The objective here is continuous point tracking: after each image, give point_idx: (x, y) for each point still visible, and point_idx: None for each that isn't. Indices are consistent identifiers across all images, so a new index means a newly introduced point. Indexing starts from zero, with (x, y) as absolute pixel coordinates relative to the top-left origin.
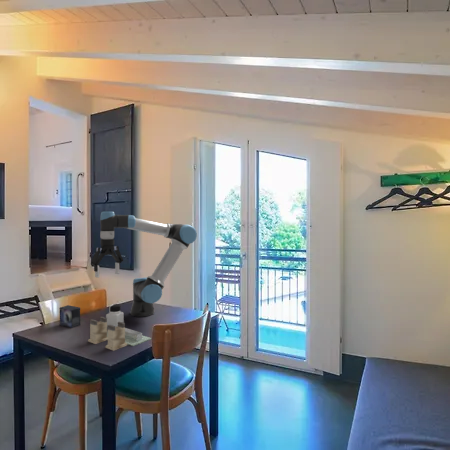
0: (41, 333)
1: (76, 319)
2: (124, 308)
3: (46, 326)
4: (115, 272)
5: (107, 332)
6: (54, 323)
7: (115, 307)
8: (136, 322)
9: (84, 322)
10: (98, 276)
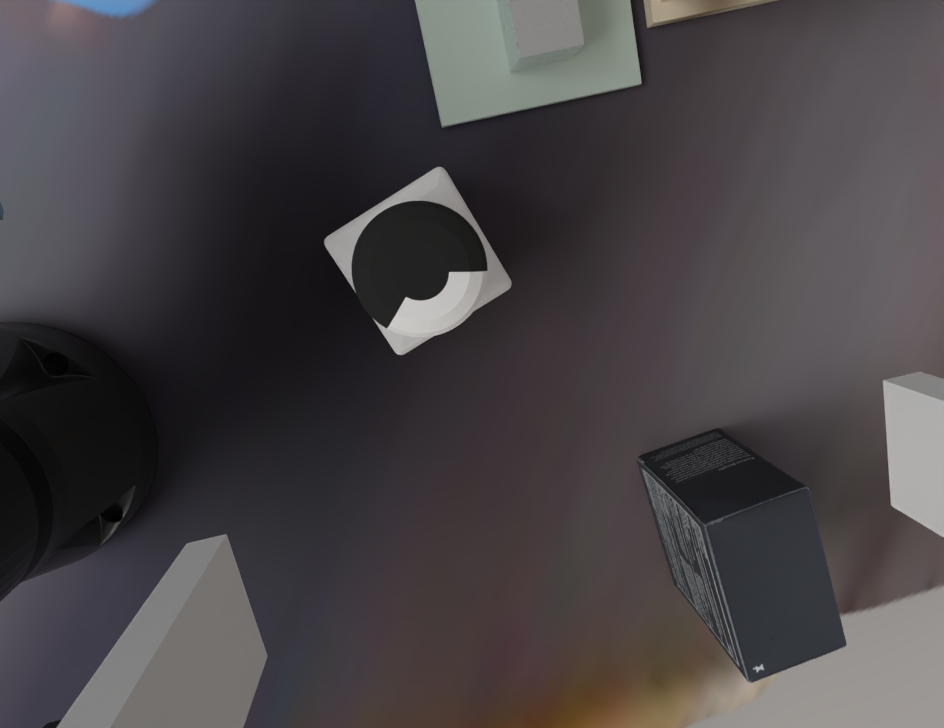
0: None
1: (701, 464)
2: None
3: None
4: (255, 677)
5: (572, 82)
6: None
7: (442, 205)
8: (212, 207)
9: (580, 510)
10: (932, 379)
